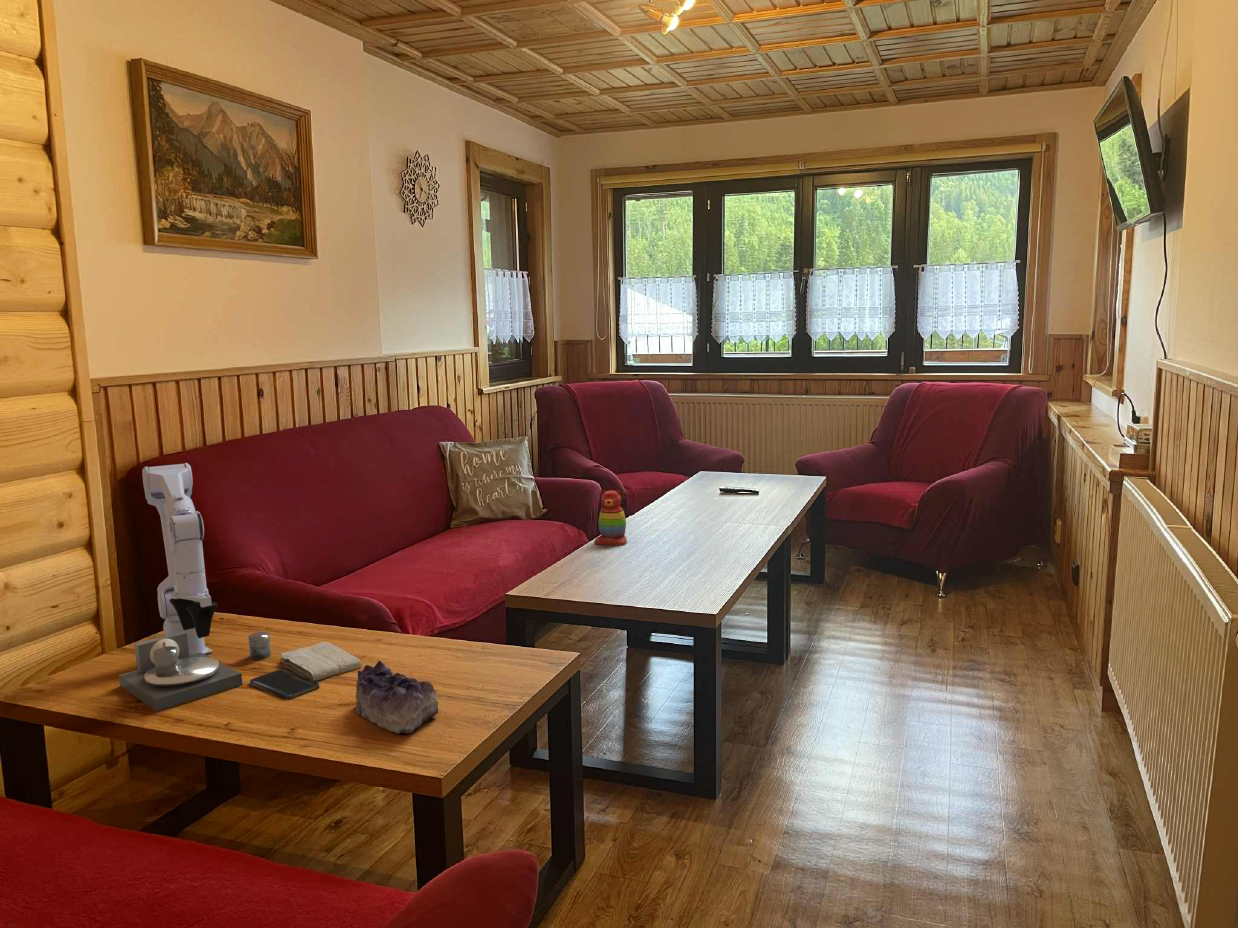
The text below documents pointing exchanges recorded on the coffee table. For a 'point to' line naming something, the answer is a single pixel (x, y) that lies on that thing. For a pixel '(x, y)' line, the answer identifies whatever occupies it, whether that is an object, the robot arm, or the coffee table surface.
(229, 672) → the scale
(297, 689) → the phone
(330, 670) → the washcloth
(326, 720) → the coffee table surface
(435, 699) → the geode
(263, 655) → the cylinder
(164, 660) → the cylinder
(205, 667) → the pan
